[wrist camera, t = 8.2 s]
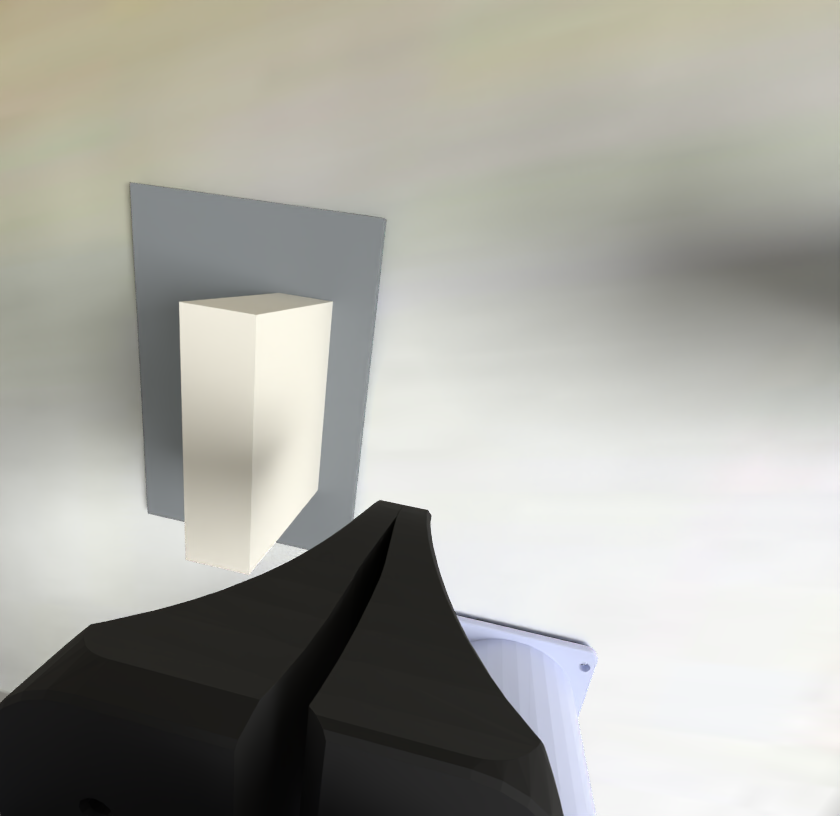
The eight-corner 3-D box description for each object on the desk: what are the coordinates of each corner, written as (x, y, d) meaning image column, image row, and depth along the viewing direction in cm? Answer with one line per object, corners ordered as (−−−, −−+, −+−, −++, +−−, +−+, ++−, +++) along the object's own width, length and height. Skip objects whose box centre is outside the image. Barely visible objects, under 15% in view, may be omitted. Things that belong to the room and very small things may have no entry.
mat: (349, 553, 23) (346, 558, 22) (153, 509, 24) (148, 513, 24) (386, 219, 18) (384, 218, 17) (137, 184, 19) (129, 182, 19)
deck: (317, 490, 22) (249, 574, 15) (270, 480, 22) (184, 559, 16) (332, 301, 19) (256, 314, 13) (278, 292, 19) (177, 301, 13)
